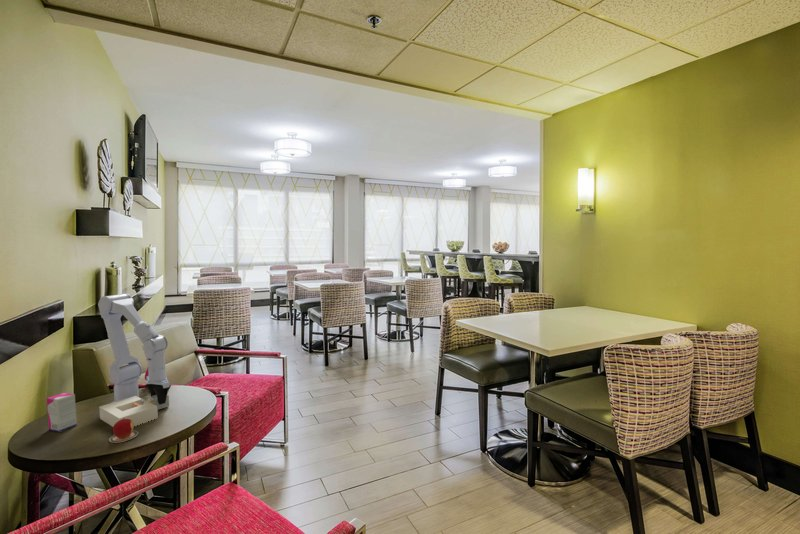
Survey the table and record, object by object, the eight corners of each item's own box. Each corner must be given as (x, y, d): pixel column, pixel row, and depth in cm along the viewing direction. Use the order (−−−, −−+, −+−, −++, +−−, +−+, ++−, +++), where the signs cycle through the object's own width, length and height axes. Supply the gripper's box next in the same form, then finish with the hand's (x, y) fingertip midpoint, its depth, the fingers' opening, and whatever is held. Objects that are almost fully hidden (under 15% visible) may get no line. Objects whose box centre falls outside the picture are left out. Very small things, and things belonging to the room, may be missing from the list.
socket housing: (100, 418, 147) (99, 406, 147) (136, 407, 157) (135, 395, 156) (120, 431, 137) (119, 418, 136) (158, 418, 146) (157, 406, 146)
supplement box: (77, 424, 142) (75, 393, 142) (59, 432, 137) (56, 400, 136) (66, 422, 144) (64, 391, 143) (47, 430, 139) (45, 398, 138)
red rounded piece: (130, 429, 138) (129, 411, 138) (143, 435, 134) (141, 416, 134) (104, 440, 131) (102, 421, 131) (116, 446, 127) (115, 426, 127)
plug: (146, 409, 154) (145, 397, 153) (163, 403, 159) (162, 392, 158) (152, 411, 151) (151, 400, 151) (169, 405, 156) (168, 395, 156)
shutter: (133, 413, 150) (132, 403, 150) (136, 412, 151) (135, 402, 151) (139, 416, 147) (139, 406, 147) (142, 415, 148) (142, 405, 148)
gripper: (136, 367, 155) (139, 401, 156) (154, 374, 147) (156, 410, 148) (156, 362, 161) (158, 395, 162) (174, 369, 152) (176, 403, 153)
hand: (159, 402), depth 155 cm, fingers closed on plug, 4 cm apart
